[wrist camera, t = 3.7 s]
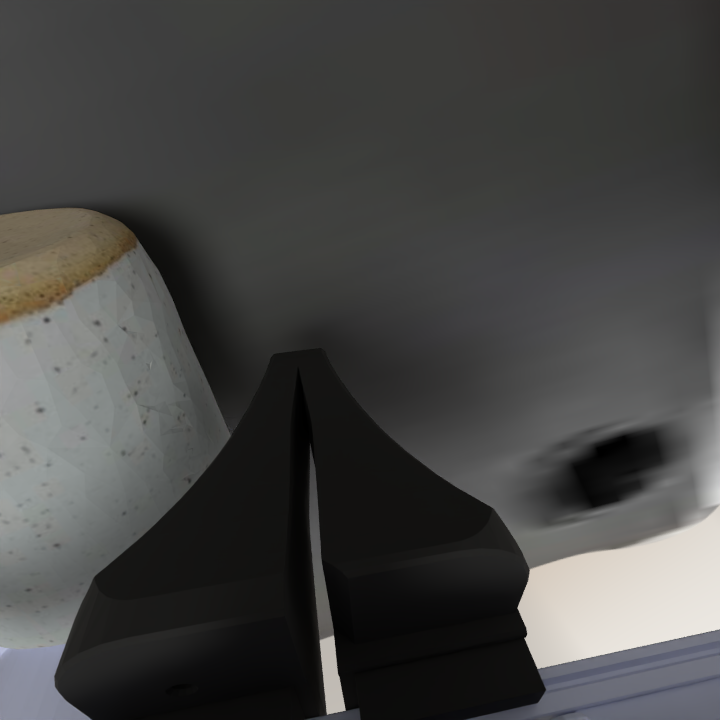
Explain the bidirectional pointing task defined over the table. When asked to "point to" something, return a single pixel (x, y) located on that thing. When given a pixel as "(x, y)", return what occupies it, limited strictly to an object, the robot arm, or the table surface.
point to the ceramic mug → (87, 412)
